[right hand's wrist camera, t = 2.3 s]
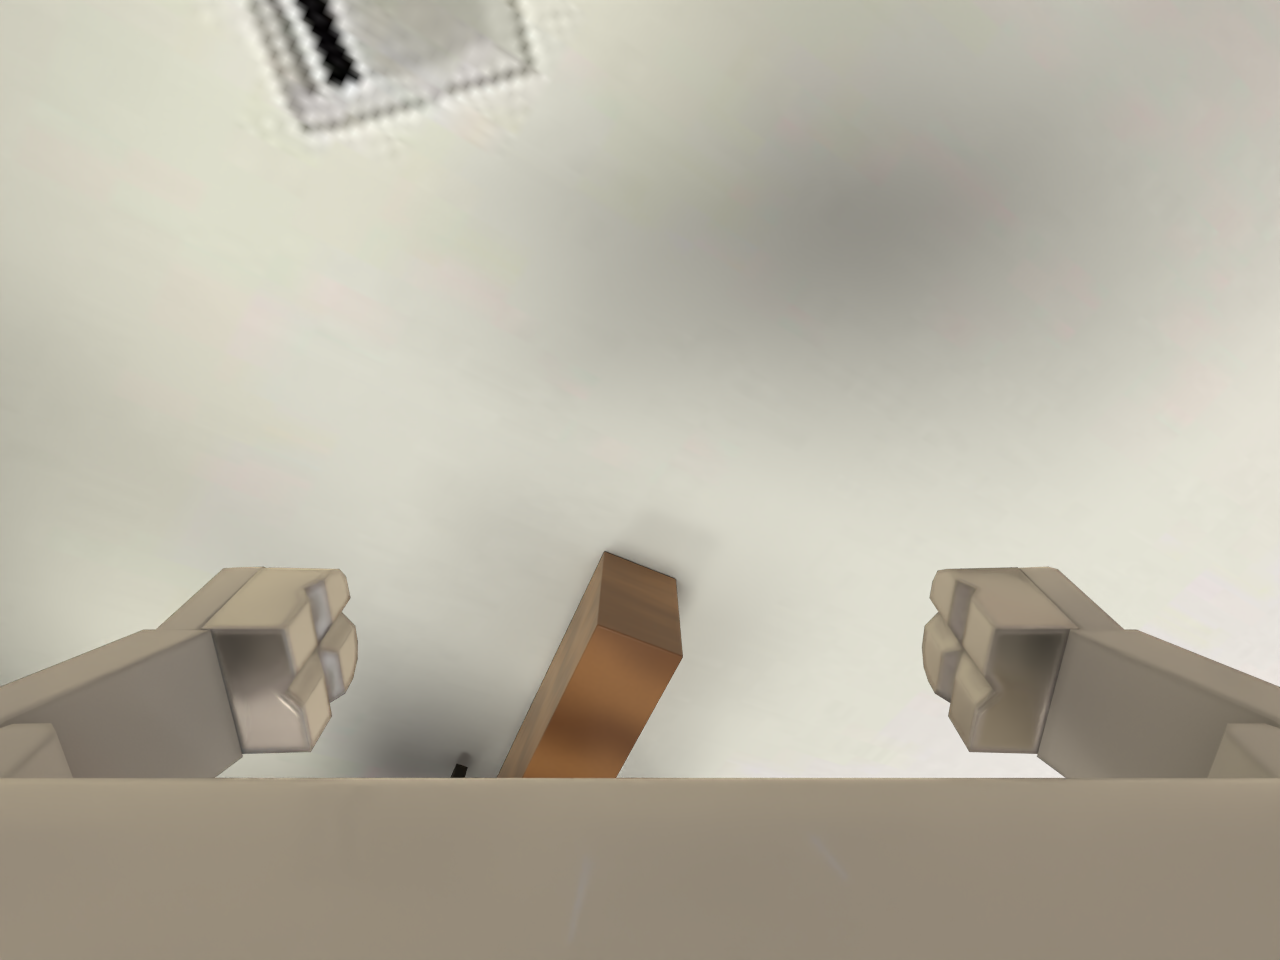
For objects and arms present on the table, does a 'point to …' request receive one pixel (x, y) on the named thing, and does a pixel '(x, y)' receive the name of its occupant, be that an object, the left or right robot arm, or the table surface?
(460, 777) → the left robot arm
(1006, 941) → the right robot arm
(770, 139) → the table surface
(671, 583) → the bar
